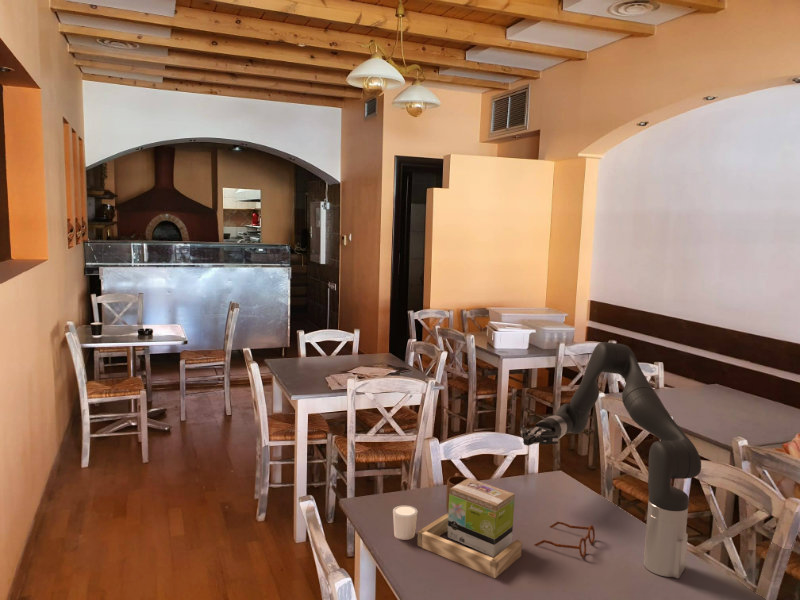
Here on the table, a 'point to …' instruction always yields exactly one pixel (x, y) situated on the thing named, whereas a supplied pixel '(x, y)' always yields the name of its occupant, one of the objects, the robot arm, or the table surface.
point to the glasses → (580, 539)
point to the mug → (451, 483)
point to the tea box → (481, 516)
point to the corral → (466, 550)
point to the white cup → (404, 522)
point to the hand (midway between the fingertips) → (526, 442)
